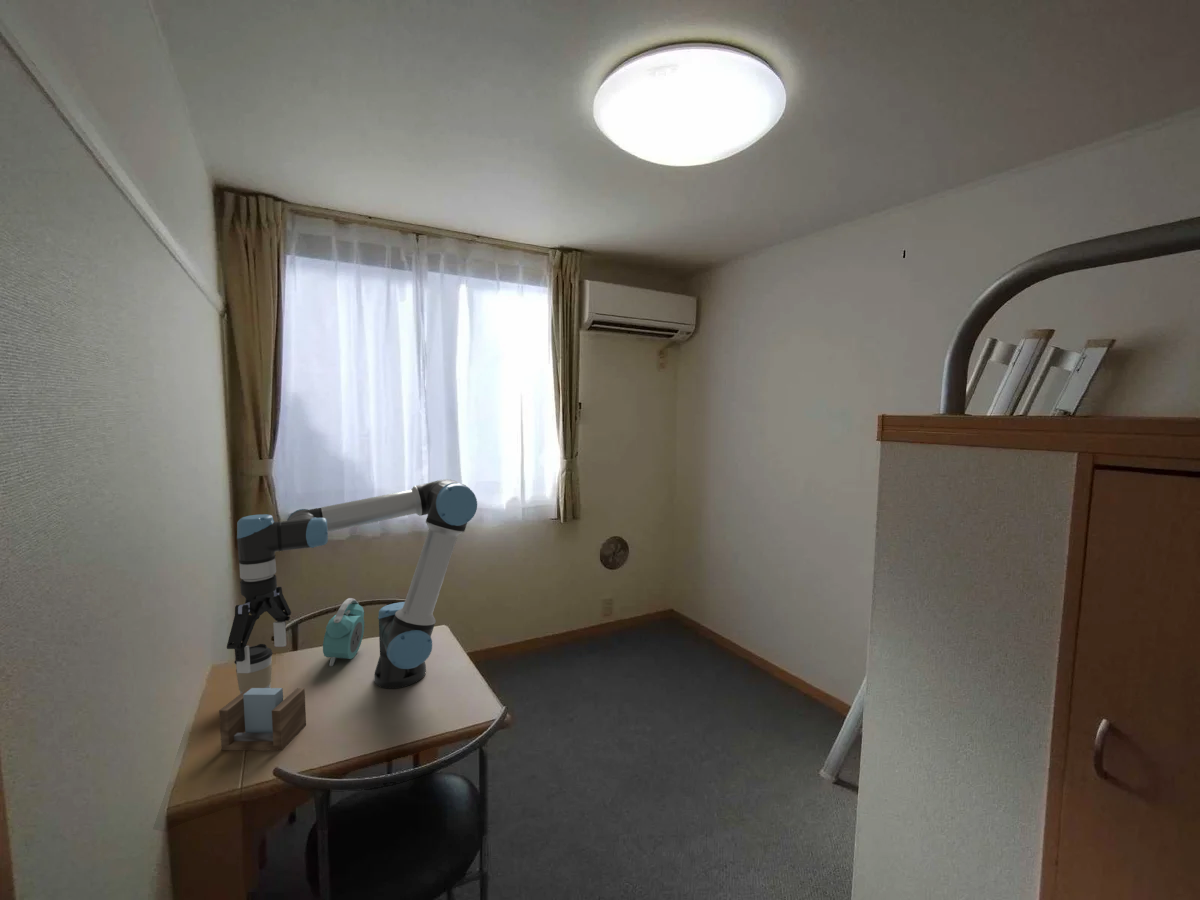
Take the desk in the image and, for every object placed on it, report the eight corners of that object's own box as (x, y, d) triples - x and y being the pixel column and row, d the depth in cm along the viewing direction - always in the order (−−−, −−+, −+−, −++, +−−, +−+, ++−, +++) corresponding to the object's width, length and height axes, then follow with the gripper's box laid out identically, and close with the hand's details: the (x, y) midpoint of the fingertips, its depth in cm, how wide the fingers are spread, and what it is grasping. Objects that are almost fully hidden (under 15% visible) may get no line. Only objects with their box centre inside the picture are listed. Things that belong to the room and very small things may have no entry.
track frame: (306, 725, 132) (304, 688, 131) (281, 750, 122) (279, 710, 121) (250, 724, 132) (248, 687, 131) (221, 750, 122) (219, 710, 121)
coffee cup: (255, 709, 139) (252, 658, 138) (228, 706, 141) (225, 654, 140) (282, 692, 148) (279, 643, 147) (256, 688, 150) (254, 640, 148)
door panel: (284, 728, 129) (282, 688, 128) (276, 736, 126) (274, 694, 125) (253, 728, 129) (251, 688, 128) (245, 736, 126) (243, 694, 125)
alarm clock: (341, 645, 177) (339, 591, 176) (369, 644, 178) (367, 590, 177) (318, 670, 160) (315, 610, 159) (349, 669, 161) (346, 609, 159)
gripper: (276, 562, 137) (280, 636, 138) (203, 595, 112) (209, 685, 114) (303, 561, 137) (307, 636, 138) (236, 595, 112) (242, 685, 114)
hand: (263, 658), depth 126 cm, fingers open, 13 cm apart
